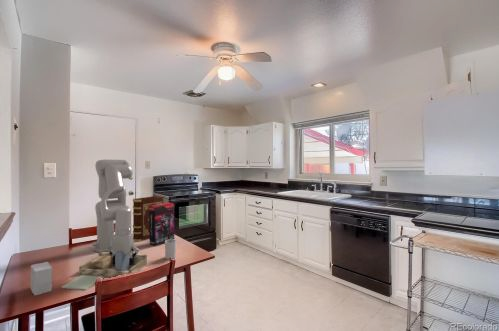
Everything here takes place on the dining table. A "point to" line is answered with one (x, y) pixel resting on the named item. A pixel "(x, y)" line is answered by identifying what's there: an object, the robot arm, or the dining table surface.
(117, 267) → the blue gray rectangular block
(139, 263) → the mottled brown tray
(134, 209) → the decorative book
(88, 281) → the mat
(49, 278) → the skincare box
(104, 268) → the offcut lower
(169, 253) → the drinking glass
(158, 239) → the graphics card box
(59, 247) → the dining table surface
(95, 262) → the offcut upper
